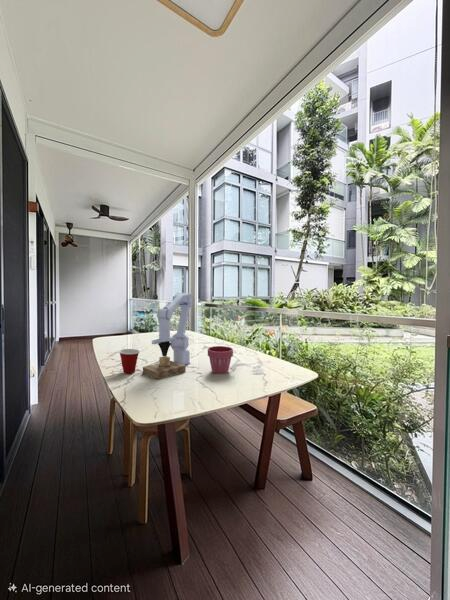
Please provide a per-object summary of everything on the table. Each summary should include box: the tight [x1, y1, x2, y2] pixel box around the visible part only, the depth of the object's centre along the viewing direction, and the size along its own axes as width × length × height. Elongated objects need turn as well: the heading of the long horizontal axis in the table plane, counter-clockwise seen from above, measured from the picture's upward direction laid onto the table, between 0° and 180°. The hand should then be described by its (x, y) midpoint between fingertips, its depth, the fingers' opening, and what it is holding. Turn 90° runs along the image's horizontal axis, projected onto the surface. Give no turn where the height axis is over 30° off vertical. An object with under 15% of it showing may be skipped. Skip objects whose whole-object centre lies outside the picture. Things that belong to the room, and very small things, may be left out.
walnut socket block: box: [142, 360, 187, 380], centre depth 144 cm, size 18×14×4 cm
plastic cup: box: [118, 348, 141, 375], centre depth 144 cm, size 11×11×12 cm
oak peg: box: [158, 355, 171, 368], centre depth 143 cm, size 4×4×8 cm
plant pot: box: [207, 345, 234, 375], centre depth 146 cm, size 14×14×13 cm
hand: (164, 355), depth 143 cm, fingers closed
